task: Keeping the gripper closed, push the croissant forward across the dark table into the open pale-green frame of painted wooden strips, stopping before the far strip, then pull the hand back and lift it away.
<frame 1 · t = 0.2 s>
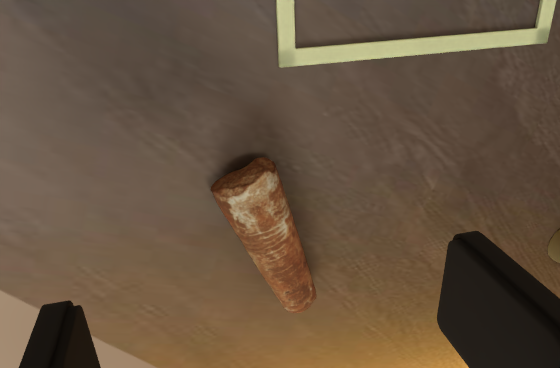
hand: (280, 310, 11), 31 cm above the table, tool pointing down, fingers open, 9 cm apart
bread: (273, 229, 47), on the table
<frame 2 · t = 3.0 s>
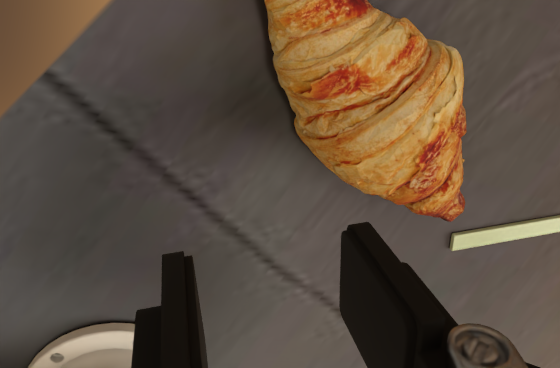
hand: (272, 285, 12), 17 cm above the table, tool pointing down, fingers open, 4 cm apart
croissant: (365, 93, 29), on the table
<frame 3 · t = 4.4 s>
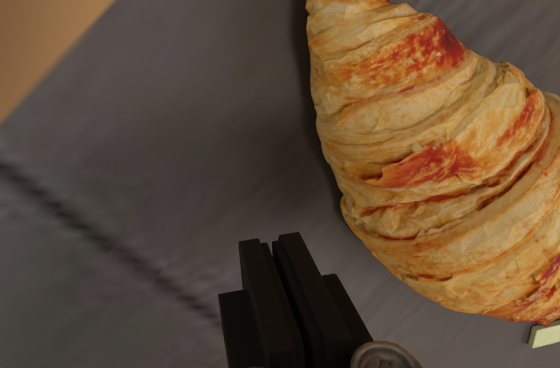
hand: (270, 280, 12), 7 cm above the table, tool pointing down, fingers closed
croissant: (434, 159, 21), on the table
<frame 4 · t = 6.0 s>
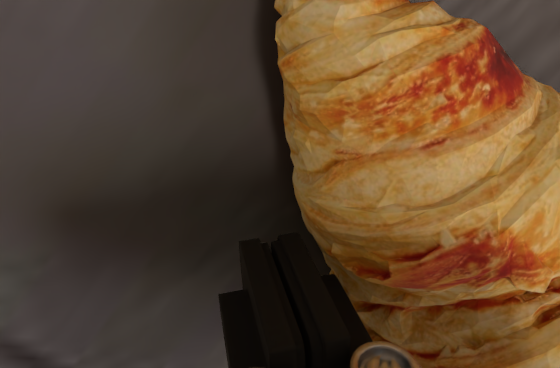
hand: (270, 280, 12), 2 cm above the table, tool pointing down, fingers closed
croissant: (459, 214, 16), on the table, touching gripper
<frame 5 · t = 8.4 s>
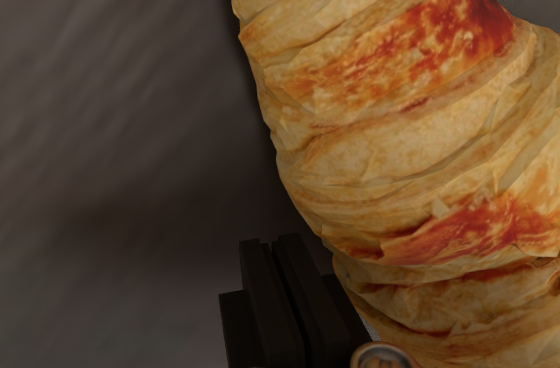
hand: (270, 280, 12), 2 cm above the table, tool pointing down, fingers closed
croissant: (468, 180, 15), on the table, touching gripper
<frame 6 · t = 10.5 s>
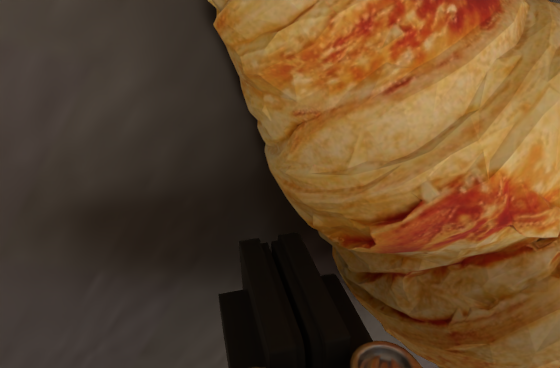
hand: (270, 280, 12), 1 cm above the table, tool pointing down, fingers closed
croissant: (469, 162, 14), on the table, touching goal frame, gripper
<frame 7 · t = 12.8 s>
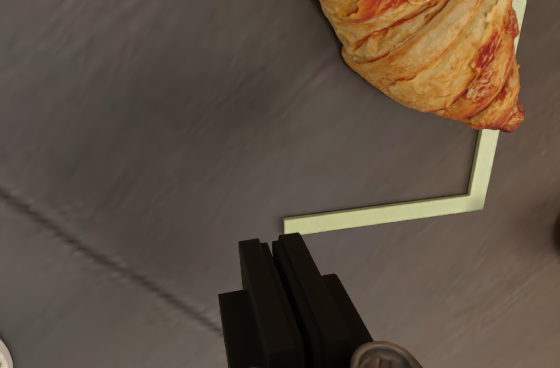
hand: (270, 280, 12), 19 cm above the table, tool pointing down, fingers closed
croissant: (408, 13, 29), on the table
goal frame: (402, 45, 30), on the table
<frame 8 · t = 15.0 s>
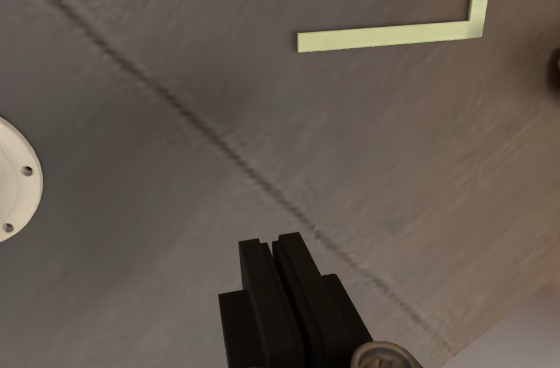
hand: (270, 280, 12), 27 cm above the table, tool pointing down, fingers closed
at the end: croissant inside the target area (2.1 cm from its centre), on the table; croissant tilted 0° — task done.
